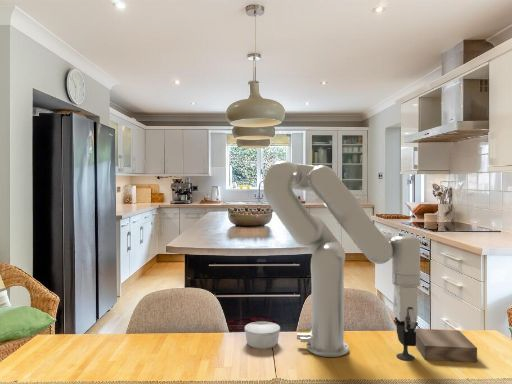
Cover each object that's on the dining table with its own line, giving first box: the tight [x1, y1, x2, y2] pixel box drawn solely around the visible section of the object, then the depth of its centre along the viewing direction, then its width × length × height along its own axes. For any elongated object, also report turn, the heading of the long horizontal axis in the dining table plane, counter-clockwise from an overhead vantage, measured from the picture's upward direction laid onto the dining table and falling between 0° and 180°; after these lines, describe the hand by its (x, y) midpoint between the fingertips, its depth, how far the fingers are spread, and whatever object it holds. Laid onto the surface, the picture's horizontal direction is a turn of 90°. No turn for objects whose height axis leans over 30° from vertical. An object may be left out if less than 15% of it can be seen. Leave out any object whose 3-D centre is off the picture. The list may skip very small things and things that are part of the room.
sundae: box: [393, 316, 419, 362], centre depth 118 cm, size 7×7×15 cm
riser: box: [415, 328, 478, 363], centre depth 123 cm, size 14×14×4 cm
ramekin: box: [244, 321, 281, 350], centre depth 129 cm, size 11×11×5 cm
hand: (405, 339), depth 118 cm, fingers open, 8 cm apart
